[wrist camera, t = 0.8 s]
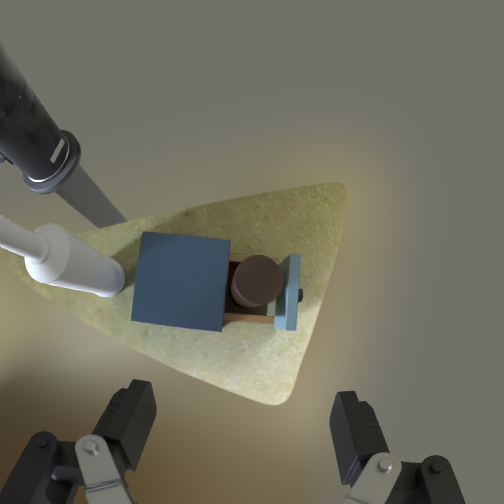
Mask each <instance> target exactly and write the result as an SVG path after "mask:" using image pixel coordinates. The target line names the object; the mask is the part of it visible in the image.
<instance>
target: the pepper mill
mask: <svg viewBox="0 0 504 504" xmlns="http://www.w3.org/2000/svg"><path fill="white" fill-rule="evenodd" d="M283 283H284V278H283V273H282V270H281V268H280V267H279V265H278V264H277V263H276V262H275V261H274V260H273V259H271V258H269V257H267V256H263V255H254V256H250V257H248V258H246V259H244V260H243V261H242V262H241V263H240V264H239V265H238V267H237V269H236V271H235V274H234V277H233V280H232V283H231V285H230V288H229V295H230V299H231V301H232V302H233V304H234V305H236V306H237V307H239V308H242V309H251V308H254V307H257V306H260V305H263V304H267V303H269V302H271V301H273V300H274V299H275V298H277V296H278V295H279V294H280V292H281V290H282V288H283Z"/></svg>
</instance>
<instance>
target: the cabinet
mask: <svg viewBox="0 0 504 504" xmlns="http://www.w3.org/2000/svg"><path fill="white" fill-rule="evenodd" d="M229 248H230V240H224V239H214V238H204V237H194V236H184V235H174V234H163V233H153V232H143V233H142V238H141V245H140V251H139V258H138V264H137V272H136V279H135V287H134V296H133V305H132V315H131V321H137V322H143V323H150V324H157V325H165V326H172V327H181V328H189V329H198V330H207V331H217V332H222V324H223V313H224V301H225V290H226V279H227V269H228V258H229Z"/></svg>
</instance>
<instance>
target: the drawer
mask: <svg viewBox="0 0 504 504" xmlns="http://www.w3.org/2000/svg"><path fill="white" fill-rule="evenodd" d="M248 257H250V256H249V255H239V254H229V258H228V269H227V279H226V290H225V301H224V313H223V320H228V321H240V322H252V323H266V324H274V328H275V329H281V330H286V331H296V323H297V309H298V302H301V301H302V299H303V290H302V289H299V275H300V255H296V254H290V255H289V256H287V257H286V258H285V259H284V260H283V261H282V262H281V263H280V264H279V267H280V268H281V270H282V273H283V278H284V283H283V288H282V290H281V292H280V294H279V295H278V296H277V298H276V308H275V321H274V316H267V304H263V305H260V306H257V307H254V308H251V309H242V308H239V307H237V306H236V305H234V304H233V302H232V301H231V299H230V295H229V288H230V285H231V283H232V280H233V277H234V274H235V271H236V269H237V267H238V265H239V264H240V263H241V262H242V261H243V260H244V259H246V258H248ZM271 259H273V260H274V261H275V262H276V263H277V264H278V258H271Z"/></svg>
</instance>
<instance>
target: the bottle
mask: <svg viewBox="0 0 504 504" xmlns="http://www.w3.org/2000/svg"><path fill="white" fill-rule="evenodd" d="M0 247H2V248H5V249H7V250H9V251H12V252H14V253H17V254H19V255H22V256H24V257H25V263H26V269H27V270H28V272H29V274H30V275H31V277H32V278H34V279H35V280H37V281H38V282H41V283H45V284H50V285H55V286H60V287H65V288H70V289H75V290H80V291H86V292H91V293H95V294H97V295H99V296H101V297H112V296H114V295H116V294H118V293H119V292H120V291H121V290H122V288H123V286H124V284H125V273H124V270H123V268H122V267H121V265H120V264H119V263H118V262H117V261H115V260H113V259H111V258H107V257H105V256H104V255H102V254H100V253H99V252H97V251H96V250H94V249H93V248H91V247H90V246H88V245H87V244H85V243H84V242H82V241H81V240H79V239H78V238H76V237H75V236H74V235H72V234H71V233H69V232H68V231H66V230H65V229H63V228H62V227H60V226H58V225H56V224H45V225H43V226H41V227H39V228H37V229H36V230H35V232H34V233H32V232H30V231H28V230H27V229H24V228H23V227H21V226H19V225H17V224H15V223H14V222H12V221H10V220H8V218H6V217H5V216H3V215H1V214H0Z"/></svg>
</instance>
